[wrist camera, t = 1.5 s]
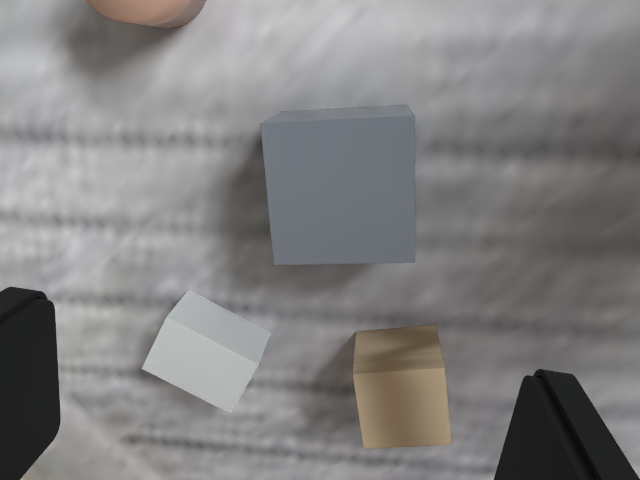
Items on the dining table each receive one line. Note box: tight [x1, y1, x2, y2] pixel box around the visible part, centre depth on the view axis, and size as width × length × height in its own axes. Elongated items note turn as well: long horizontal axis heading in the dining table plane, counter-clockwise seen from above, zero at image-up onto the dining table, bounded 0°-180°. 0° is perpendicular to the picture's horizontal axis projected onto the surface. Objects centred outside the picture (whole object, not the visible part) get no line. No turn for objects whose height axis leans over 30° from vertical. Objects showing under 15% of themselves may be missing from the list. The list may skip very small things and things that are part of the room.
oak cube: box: [353, 325, 451, 449], centre depth 32 cm, size 5×5×5 cm
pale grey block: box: [142, 290, 271, 414], centre depth 33 cm, size 6×4×4 cm, turn 62°
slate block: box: [260, 105, 415, 265], centre depth 28 cm, size 7×7×6 cm
